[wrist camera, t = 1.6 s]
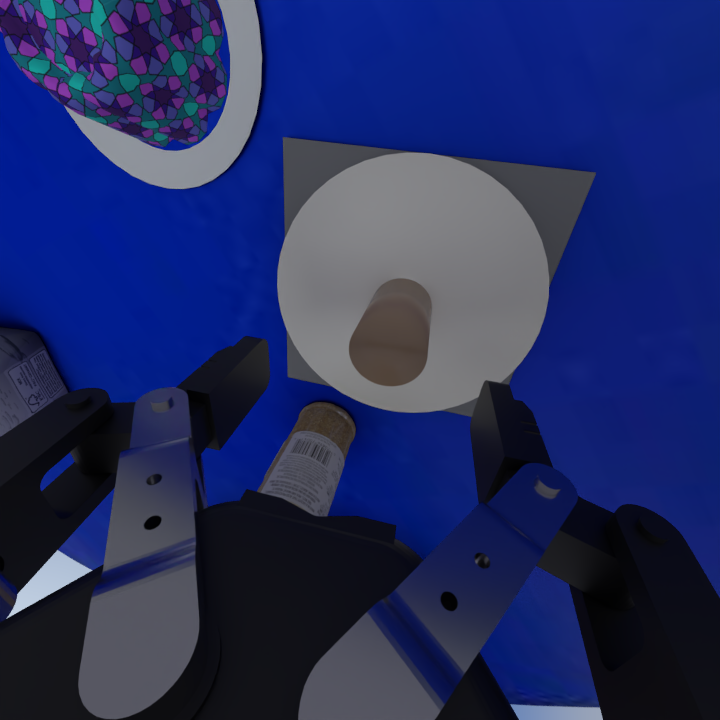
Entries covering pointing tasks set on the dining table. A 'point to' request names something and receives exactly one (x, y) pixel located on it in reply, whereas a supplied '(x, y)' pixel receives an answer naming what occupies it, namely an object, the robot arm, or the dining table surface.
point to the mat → (526, 182)
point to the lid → (413, 282)
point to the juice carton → (25, 377)
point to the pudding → (145, 77)
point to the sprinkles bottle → (311, 458)
